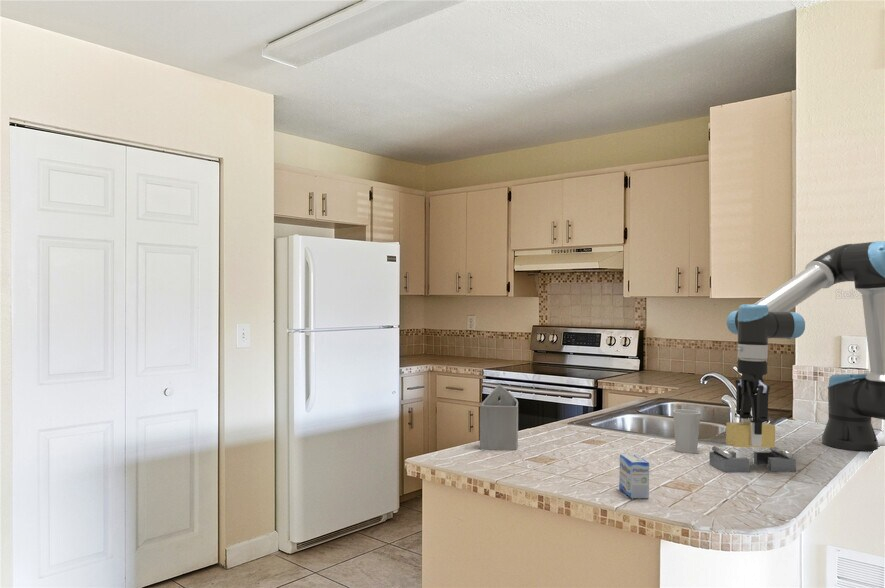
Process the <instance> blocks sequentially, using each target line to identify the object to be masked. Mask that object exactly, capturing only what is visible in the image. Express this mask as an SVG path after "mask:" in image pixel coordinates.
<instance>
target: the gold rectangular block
mask: <svg viewBox="0 0 885 588" xmlns="http://www.w3.org/2000/svg"><path fill="white" fill-rule="evenodd" d="M725 423H726V427H725V428H726V429H725V430H726V431H725V445H727V446H731V447H733V448H770V447H776V425H775V424H771V423H768V422H763V423H762V444H761V446H750V440H751V423H743V422H741V421H740V422H736V421H735V422H733V421H732V422H725Z"/></svg>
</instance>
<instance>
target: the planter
mask: <svg viewBox="0 0 885 588" xmlns="http://www.w3.org/2000/svg"><path fill="white" fill-rule="evenodd" d="M518 447H519V401H518V399H517V398H516V397H515V396H514V395H513V394H512V393H511V392H509V391H508V389H506V388H505V387H504V386H502V385H501V384H498V385H497V386H496V387H495V388H494V389H493V390H492V391H491V392H490V393H489V395H487V397H486V398H485V399H484V400H483V401H482V402H481V403H480V406H479V450H482V451H484V450H485V451H486V450H487V451H517V450H518Z"/></svg>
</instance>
